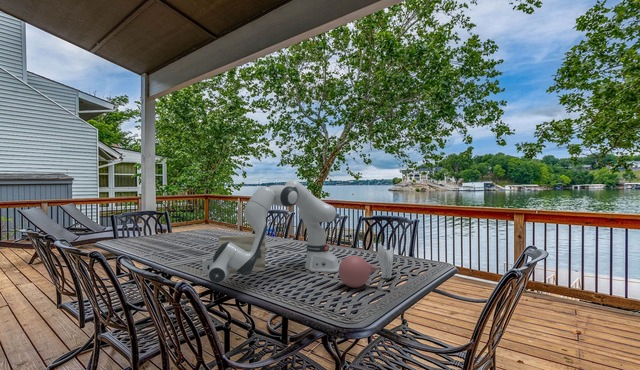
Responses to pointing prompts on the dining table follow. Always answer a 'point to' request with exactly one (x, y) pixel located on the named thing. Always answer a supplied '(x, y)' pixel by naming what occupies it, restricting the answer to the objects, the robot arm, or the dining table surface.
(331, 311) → the dining table surface
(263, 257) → the button panel
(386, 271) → the shell sculpture
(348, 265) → the pink bulb with spout
